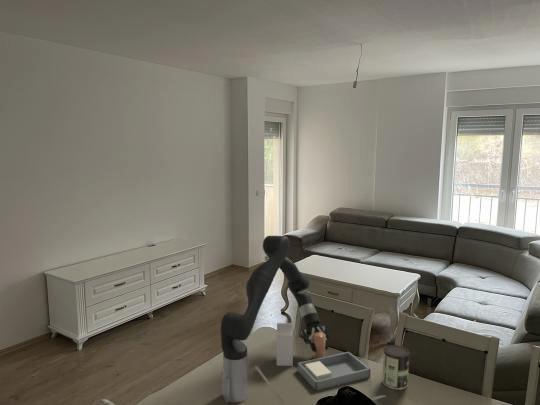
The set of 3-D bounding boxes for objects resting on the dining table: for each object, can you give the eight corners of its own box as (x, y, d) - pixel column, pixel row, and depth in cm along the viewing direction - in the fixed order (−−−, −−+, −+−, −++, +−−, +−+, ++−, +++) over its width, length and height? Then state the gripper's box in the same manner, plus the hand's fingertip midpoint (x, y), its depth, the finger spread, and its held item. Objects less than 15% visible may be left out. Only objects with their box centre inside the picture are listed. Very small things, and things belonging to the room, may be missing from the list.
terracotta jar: (316, 363, 185) (317, 338, 183) (310, 358, 190) (311, 333, 188) (327, 361, 187) (327, 336, 185) (321, 355, 192) (321, 331, 190)
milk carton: (292, 367, 181) (293, 326, 179) (276, 367, 182) (276, 326, 179) (292, 359, 188) (292, 320, 186) (276, 359, 189) (277, 319, 186)
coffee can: (406, 377, 175) (408, 346, 173) (409, 391, 165) (411, 358, 163) (381, 374, 177) (382, 343, 175) (382, 388, 167) (384, 355, 165)
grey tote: (315, 392, 163) (315, 382, 162) (297, 372, 178) (297, 362, 177) (370, 379, 173) (370, 369, 172) (348, 361, 188) (348, 351, 187)
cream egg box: (316, 385, 166) (316, 376, 166) (304, 373, 175) (305, 364, 175) (331, 381, 169) (331, 372, 168) (319, 369, 178) (319, 361, 178)
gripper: (298, 314, 190) (310, 350, 180) (325, 309, 195) (338, 344, 186) (293, 320, 195) (304, 356, 186) (319, 316, 201) (331, 350, 192)
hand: (321, 350), depth 186 cm, fingers closed on terracotta jar, 5 cm apart
